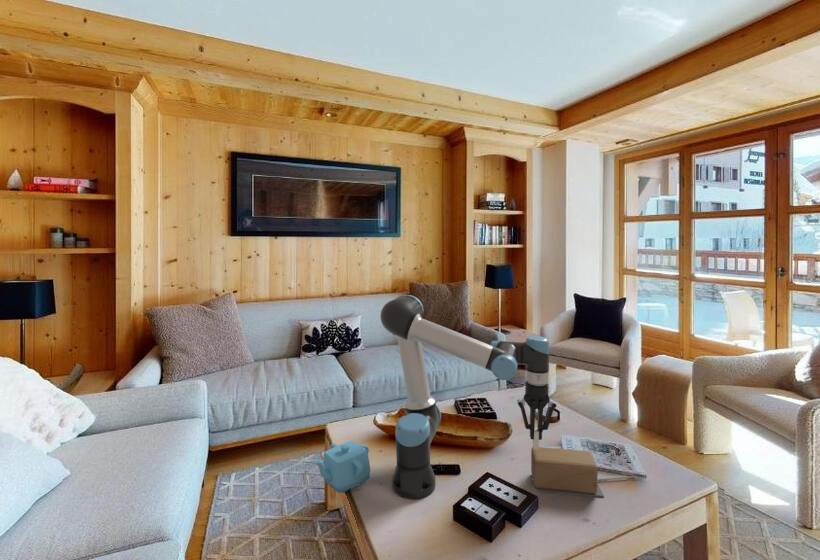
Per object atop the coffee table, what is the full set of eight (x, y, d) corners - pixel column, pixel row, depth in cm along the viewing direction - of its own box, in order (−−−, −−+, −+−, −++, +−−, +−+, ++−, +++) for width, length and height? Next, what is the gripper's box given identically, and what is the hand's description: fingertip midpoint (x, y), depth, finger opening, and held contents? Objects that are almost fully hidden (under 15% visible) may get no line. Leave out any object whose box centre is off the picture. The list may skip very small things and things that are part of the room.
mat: (540, 492, 129) (540, 491, 129) (532, 466, 144) (532, 465, 144) (603, 497, 126) (603, 495, 126) (589, 470, 141) (589, 468, 141)
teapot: (333, 466, 147) (332, 432, 146) (375, 469, 144) (374, 435, 143) (313, 497, 129) (311, 459, 128) (360, 502, 126) (358, 463, 125)
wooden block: (533, 488, 131) (597, 495, 127) (534, 460, 130) (598, 466, 126) (530, 471, 140) (590, 477, 136) (531, 445, 139) (590, 450, 135)
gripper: (518, 385, 129) (517, 452, 132) (559, 387, 127) (557, 454, 130) (515, 377, 137) (514, 441, 139) (554, 378, 135) (552, 443, 137)
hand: (535, 447), depth 135 cm, fingers closed
